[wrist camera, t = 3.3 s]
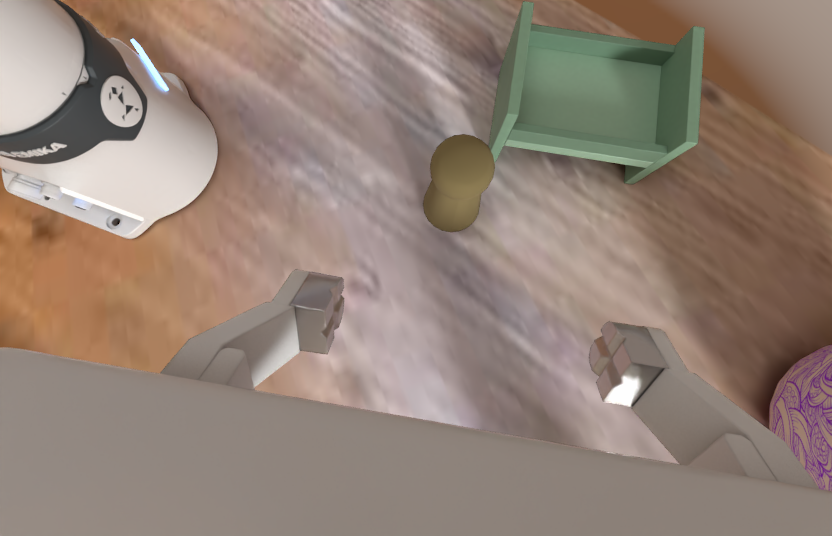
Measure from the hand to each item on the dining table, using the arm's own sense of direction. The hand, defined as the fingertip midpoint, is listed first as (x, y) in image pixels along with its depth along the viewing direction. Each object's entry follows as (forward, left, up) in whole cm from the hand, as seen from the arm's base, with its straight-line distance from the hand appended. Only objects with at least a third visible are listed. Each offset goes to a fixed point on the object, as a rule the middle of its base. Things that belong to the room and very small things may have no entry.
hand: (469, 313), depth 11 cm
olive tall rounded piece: (0, +12, -26) cm, 28 cm away
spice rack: (+11, +23, -25) cm, 36 cm away
